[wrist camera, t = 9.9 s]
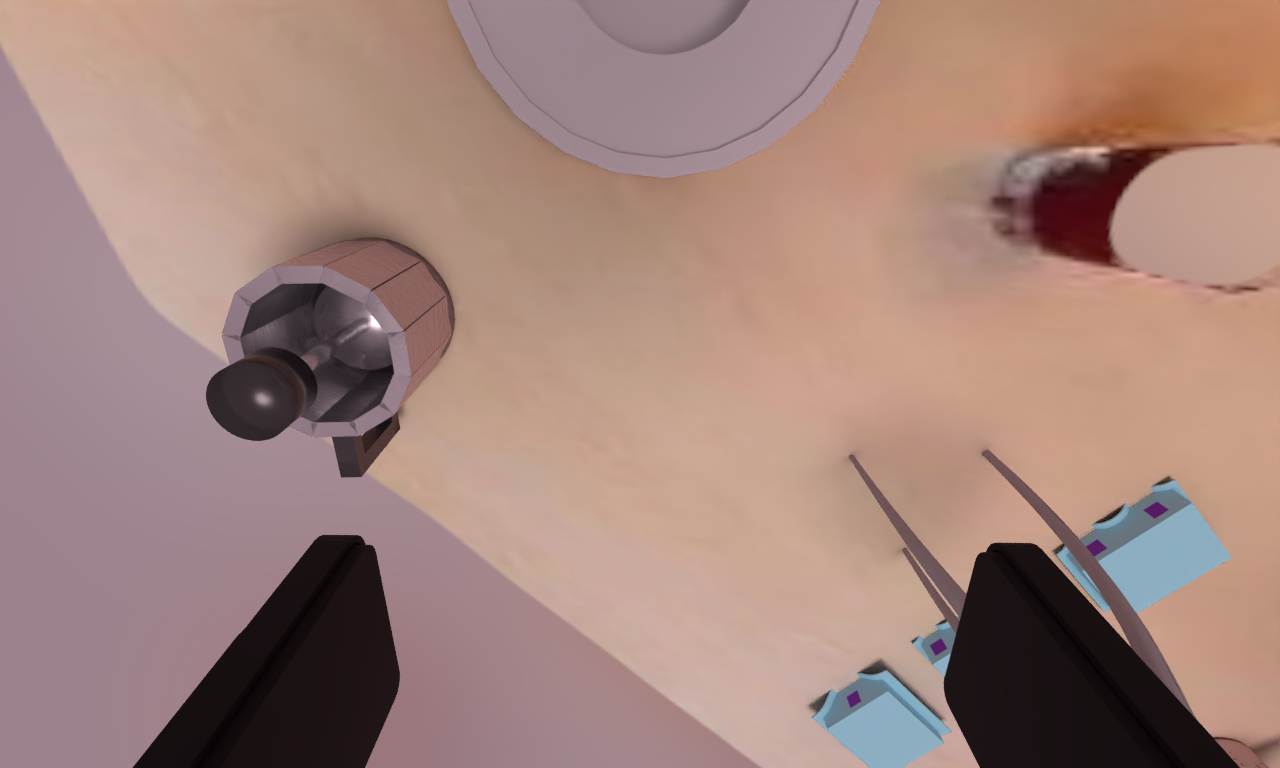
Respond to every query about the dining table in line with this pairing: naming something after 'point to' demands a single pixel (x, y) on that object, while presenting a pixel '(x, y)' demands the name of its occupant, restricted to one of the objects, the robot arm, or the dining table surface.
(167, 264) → the dining table surface
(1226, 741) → the teacup with lid
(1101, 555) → the light blue block row
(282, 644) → the robot arm
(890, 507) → the juicer
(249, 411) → the plunger
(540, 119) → the ashtray
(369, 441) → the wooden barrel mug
